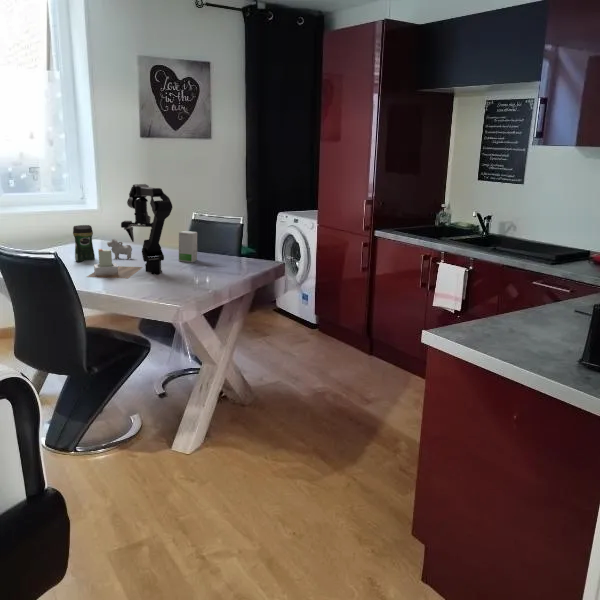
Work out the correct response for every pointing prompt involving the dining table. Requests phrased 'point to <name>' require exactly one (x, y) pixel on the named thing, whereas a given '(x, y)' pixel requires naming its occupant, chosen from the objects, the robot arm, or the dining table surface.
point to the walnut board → (120, 272)
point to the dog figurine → (120, 248)
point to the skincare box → (187, 246)
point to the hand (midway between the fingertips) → (142, 242)
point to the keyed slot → (106, 270)
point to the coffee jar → (83, 243)
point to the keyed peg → (105, 258)
